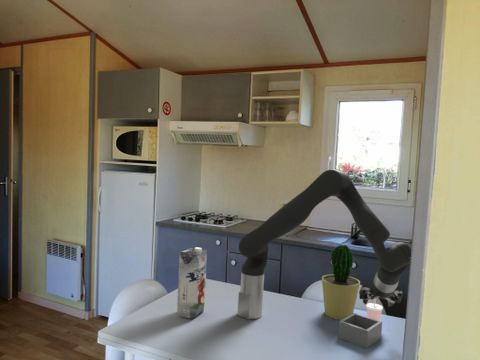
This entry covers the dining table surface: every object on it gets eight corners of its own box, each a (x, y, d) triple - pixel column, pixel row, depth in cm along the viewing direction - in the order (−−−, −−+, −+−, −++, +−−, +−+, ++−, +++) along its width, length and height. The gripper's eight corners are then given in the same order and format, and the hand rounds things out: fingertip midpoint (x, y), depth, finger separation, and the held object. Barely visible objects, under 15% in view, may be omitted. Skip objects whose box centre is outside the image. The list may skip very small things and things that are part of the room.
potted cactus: (353, 309, 172) (358, 241, 171) (361, 323, 157) (366, 249, 155) (317, 306, 174) (322, 238, 172) (321, 320, 158) (326, 246, 157)
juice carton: (173, 316, 154) (177, 248, 153) (187, 307, 164) (190, 243, 162) (194, 321, 151) (197, 251, 149) (206, 311, 160) (209, 246, 159)
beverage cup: (379, 333, 148) (381, 297, 148) (362, 329, 151) (365, 293, 151) (382, 328, 153) (385, 292, 153) (366, 324, 157) (369, 289, 156)
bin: (366, 348, 136) (368, 331, 135) (337, 337, 143) (339, 321, 143) (381, 337, 145) (382, 321, 144) (353, 328, 152) (354, 312, 152)
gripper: (405, 274, 137) (395, 296, 149) (363, 270, 139) (356, 292, 151) (408, 294, 132) (398, 315, 144) (364, 290, 134) (357, 310, 146)
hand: (377, 303), depth 147 cm, fingers open, 8 cm apart
